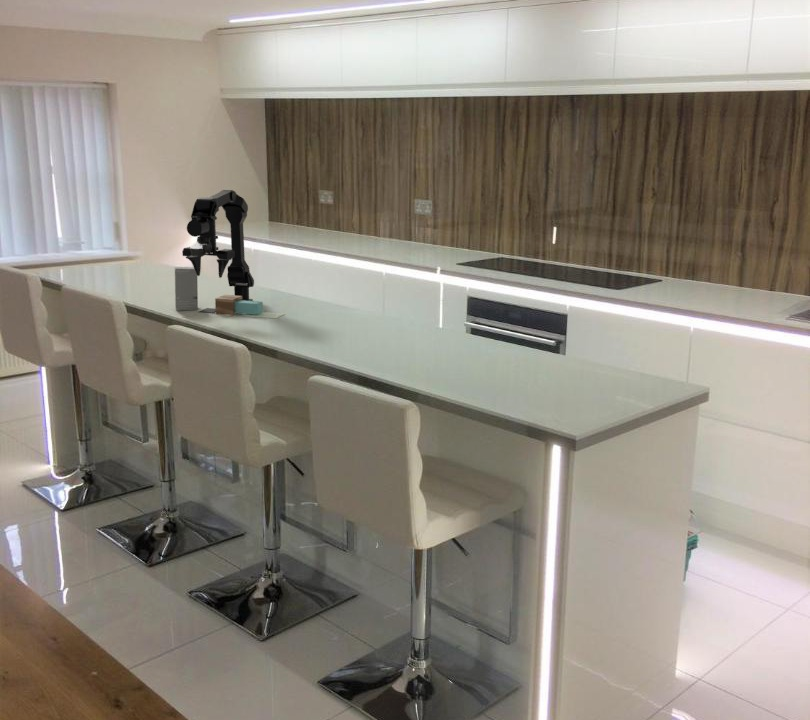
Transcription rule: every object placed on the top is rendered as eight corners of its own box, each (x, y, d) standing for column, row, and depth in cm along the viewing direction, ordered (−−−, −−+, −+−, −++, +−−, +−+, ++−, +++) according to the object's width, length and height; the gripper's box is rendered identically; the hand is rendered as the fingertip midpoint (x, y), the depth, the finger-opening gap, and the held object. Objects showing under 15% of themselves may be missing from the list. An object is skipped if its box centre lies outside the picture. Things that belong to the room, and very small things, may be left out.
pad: (252, 311, 335) (252, 311, 335) (284, 314, 331) (284, 313, 331) (243, 316, 327) (243, 315, 327) (276, 318, 324) (276, 318, 324)
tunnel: (225, 309, 338) (225, 294, 336) (242, 311, 336) (242, 295, 334) (215, 313, 330) (215, 298, 329) (233, 315, 328) (232, 299, 327)
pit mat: (207, 308, 339) (207, 307, 339) (221, 309, 338) (221, 309, 338) (198, 312, 333) (198, 311, 333) (212, 313, 331) (212, 312, 331)
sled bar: (228, 309, 335) (228, 299, 334) (262, 312, 332) (262, 301, 331) (223, 312, 331) (222, 301, 330) (257, 314, 328) (257, 303, 327)
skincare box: (176, 311, 334) (173, 268, 330) (175, 307, 341) (173, 266, 337) (199, 310, 336) (197, 268, 332) (198, 306, 343) (196, 265, 339)
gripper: (172, 234, 316) (174, 278, 320) (217, 237, 310) (219, 282, 314) (190, 231, 326) (192, 273, 330) (234, 234, 320) (236, 277, 324)
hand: (209, 276), depth 324 cm, fingers open, 9 cm apart
